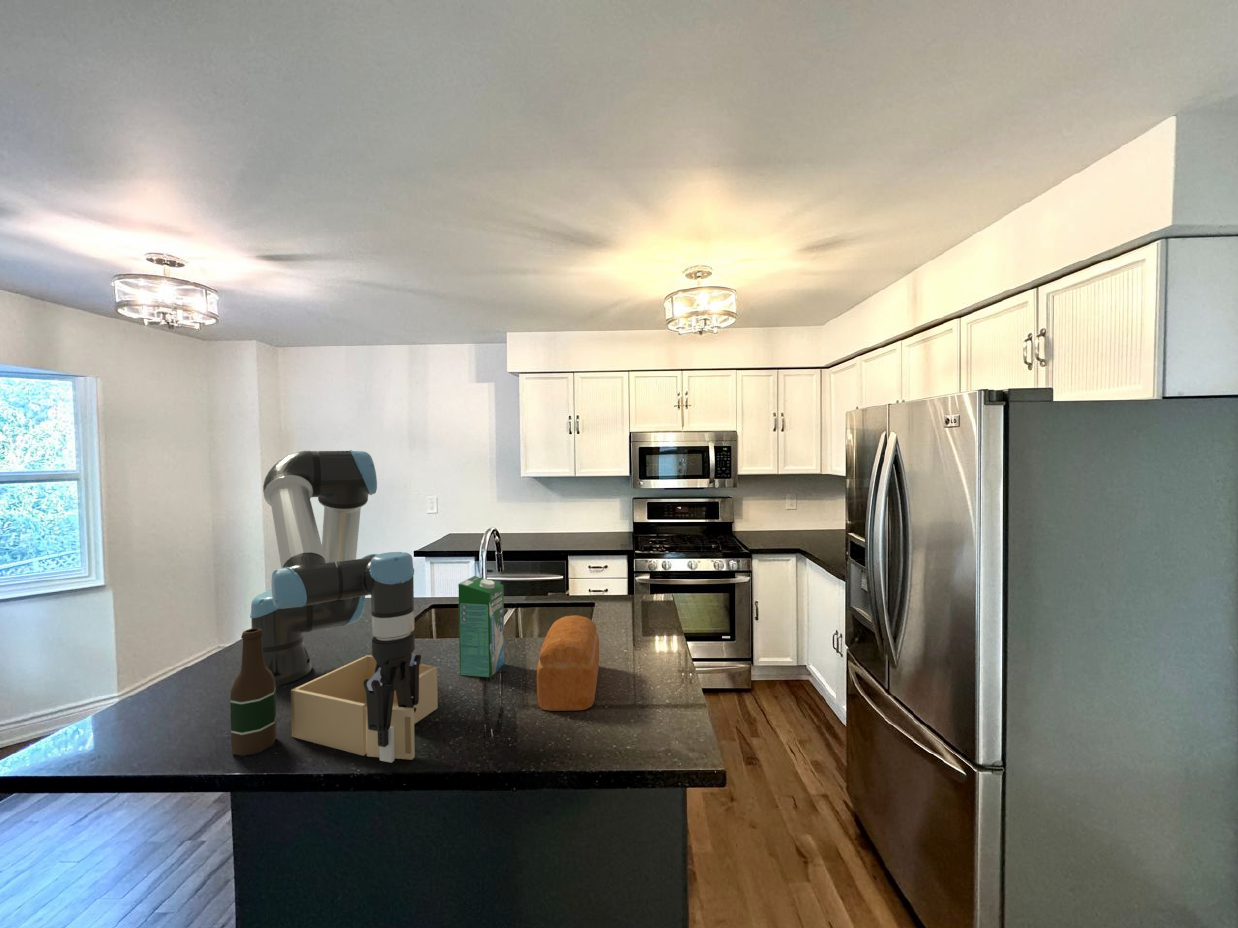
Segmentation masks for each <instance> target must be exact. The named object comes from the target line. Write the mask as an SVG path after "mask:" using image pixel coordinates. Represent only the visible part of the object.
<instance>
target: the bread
mask: <svg viewBox="0 0 1238 928" xmlns="http://www.w3.org/2000/svg"><path fill="white" fill-rule="evenodd" d="M599 668H600V639H599V635H598V632H597V625H596V623H595V622H593V621H592V619H590V618H588V617H586V616H582V615H577V614H576V615H565V616H562V617H561V618H558V619H556V620H555V621H554V622H553V623H552V624H551V627H550V628H549V630H548V631H547V633H546V636H545V637H544V639H543V643H542V646H541V648H540V653H539V659H538V662H537V668H536V695H537V703H538V706H539V708H540V709H541V710H544V711H554V712H555V711H559V712H560V711H563V712H565V711H569V712H570V711H584V710H588V709H589V708H591V707H592V706H593V704H594V702H595V697H596V690H597V684H598V683H597V682H598V675H599V670H600V669H599Z"/></svg>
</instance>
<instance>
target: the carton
mask: <svg viewBox="0 0 1238 928" xmlns="http://www.w3.org/2000/svg"><path fill="white" fill-rule="evenodd" d="M432 667H434V666H433V665H429V664H423V663H420V665H419V675H420V674H422V673H423V672H425V671H427V670H429V669H431V668H432ZM375 668H376V660H375V659H374V657H373V656H372V654H366V655H365V656H363V657H360V658H358V659H356V660H354V661H351V662H349V663H347V664H345V665H343V666H340V667H337V668H336V669H334V670H332V671H330V672H327V673H326V674H323V675H320V676H319V677H316V678H314V679H312V680H310V681H308V682H305V683H303V684H302V685H299V686H296V687H294V688H291V690H290V707H291V708H290V709H291V710H290V711H291V712H290V713H291V737H292V738H295V739H299V740H303V741H306V742H311V743H314V744H317V745H321V746H325V747H329V748H332V749H337V750H340V751H343V752H344V751H345V752H347V753H352V754H356V755H359V756H366V755H367V727H366V708H367V695H366V690H365V687H364V685H363V683H364V681H365V679H371V678H372V677H373V675H374V674H375ZM393 707H398V701H397V696H396V690H395V691H394V699H393Z"/></svg>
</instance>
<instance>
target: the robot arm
mask: <svg viewBox="0 0 1238 928" xmlns="http://www.w3.org/2000/svg"><path fill="white" fill-rule="evenodd" d="M262 490H263V492H262V493H263V497H264V500H265V502H266V503H267V504H268V505H269V506H270V507H271V512H272V519H273V525H274V531H275V537H276V542H277V549H278V555H279V562H280V568H277V569H275V570H273V572H272V574H271V589H270V590H267V591H264V592H262V593H260V594H258V595H256V596H255V597H254V598H253V600H251V603H250V614H249V617H250V619H251V623H250V624H251V626H250V627H251V628H250V629H253V628H259V629H262V630H263V634H262V644H263V655H264V661H265V665H266V667H267V668H268V669H269V670H270V671H271V672H272V674H273V676H274V678H275V684H276V687H279V686H283V685H287V684H289V683H293V682H295V681H297V680H300V679H303V678H304V677H306V676H307V675H308V674H310V672H311V671H312V660H311V657H310V655H309V653H308V650H307V647H306V646H305V643H304V634H306V633H311V632H316V631H321V630H326V629H331V628H338V627H344V626H348V625H350V624H354V623H357V622H358V621H359V620H360V619H361V617H362V616H363V614H364V611H365V607H366V606H365V605H366V596H370V601H371V605H370V606H371V635H372V636H373V638H371V655H372V656H373V657H374V659H375V660H376V668H375V674H374V675H373V677H372V678H371V679H365V681H364V683H363V685H364V687H365V690H366V695H367V715H368V729H369V730H373V731H378V746H379V750H380V757H379V761H382V762H385V763H386V762H387V763H393V762H394V761H395V758H394V726H390V725H391V717H392V708H393V699H394V691H395V690H396V696H397V701H398V707H404V708H414V707H413V706H414V705H417V704H418V702H419V665H420V664H421V661H422V660H421V659H422V655H421V654H414V653H413V652H414V651H415V645H416V644H415V642H416V641H415V632H414V630H415V609H414V608H415V606H414V605H415V604H414V602H415V601H414V600H415V596H414V593H415V590H414V581H415V580H414V575H415V568H414V562H413V561H414V560H413V556H412V554H411V553H408V552H402V551H391V552H383V553H371V554H367V555H365V556H363V557H361V558H357V551H358V543H359V542H358V540H359V531H360V530H359V529H360V520H361V508H362V507H364V506H365V505H367V503H368V500H369V496H372V495H375V494H376V493H377V490H378V478H377V471H376V468H375V463H374V460H373V458H372V456H371V454H370V453H368V452H367V451H364V450H363V451H362V450H361V451H360V450H351V449H350V450H302V451H297V452H293V453H291V454H288V455H286V456H285V457H283V458H281V459H279V460H278V461H277V462H276V463H275V464H274V465H273V466H272V467H271V468H270V469H269V471H268V473H267V475H266V476H265V478H264V481H263V485H262ZM311 498H317V500H318V501H317V502H318V503H319V504H320V505H321V506H323V522H322V535H321V536H322V537H320V532H319V530H318V529H319V528H318V525H317V521H316V517H315V513H314V509H313V506H312V501H311ZM411 696H412V697H413V698H411ZM415 712H416V708H414V713H415Z"/></svg>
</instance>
